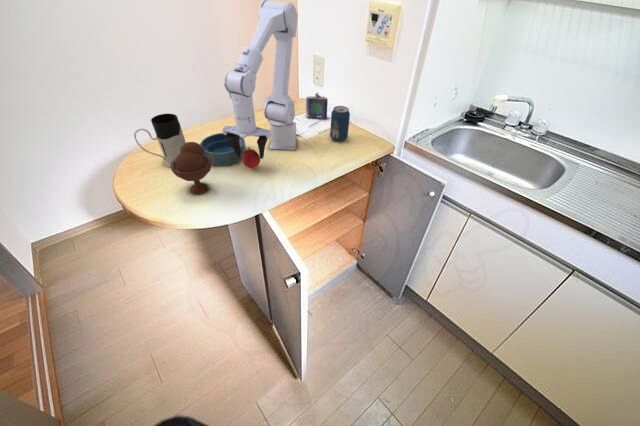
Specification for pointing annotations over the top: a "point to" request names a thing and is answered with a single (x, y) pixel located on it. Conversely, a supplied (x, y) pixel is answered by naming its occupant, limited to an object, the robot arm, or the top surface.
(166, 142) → the glass holder
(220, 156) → the bowl
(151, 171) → the top surface
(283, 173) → the top surface
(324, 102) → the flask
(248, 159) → the pomegranate
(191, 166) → the ice cream bowl
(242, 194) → the top surface
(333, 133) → the soda can
